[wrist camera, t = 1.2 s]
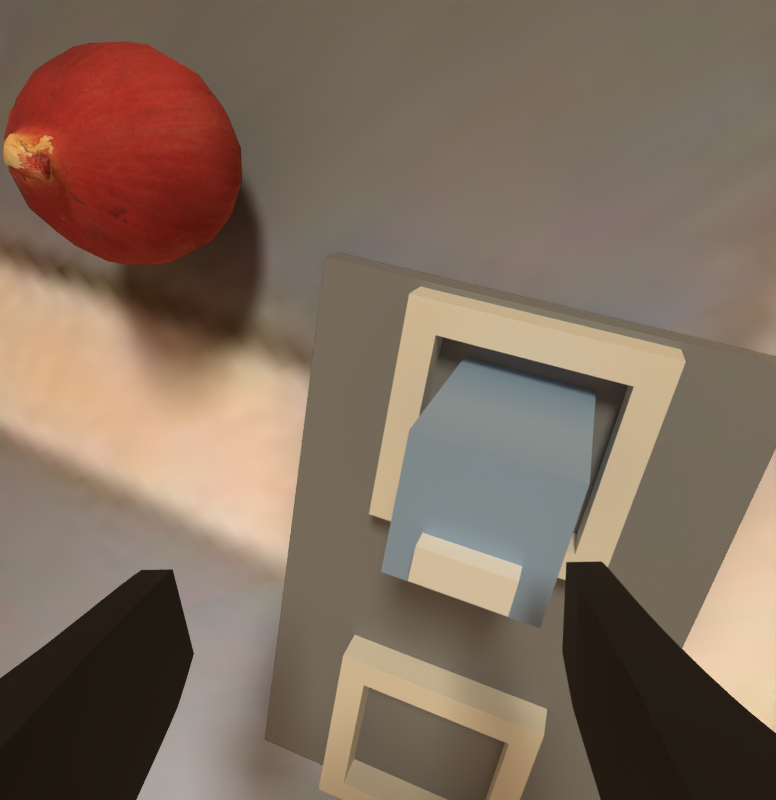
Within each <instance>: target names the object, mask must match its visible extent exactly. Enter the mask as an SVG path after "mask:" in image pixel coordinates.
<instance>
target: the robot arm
mask: <svg viewBox="0 0 776 800" xmlns="http://www.w3.org/2000/svg"><path fill="white" fill-rule="evenodd" d="M562 653H563V659H564V664H565V670H566V675H567V681H568V686H569V691H570V696H571V701H572V706H573V710H574V714H575V717H576V720H577V724H578V727H579V730H580V734H581V737H582V740H583V744H584V747H585V750H586V753H587V757H588V760H589V763H590V767H591V770H592V773H593V776H594V780H595V783H596V786H597V789H598V793H599V796H600V799H601V800H776V733H775V732H774V731H772V730H771V729H770V728H769V727H767V726H766V725H765V724H764V723H762V722H761V721H760V720H759V719H758V718H756V717H755V716H754V715H753V714H751V713H750V712H749V711H748V710H747V709H746V708H744V707H743V706H742V705H741V704H740V703H739V702H738V701H737V700H735V699H734V698H733V697H732V696H731V695H730V694H729V693H728V692H727V691H725V690H724V689H723V688H722V687H721V686H720V685H719V684H718V683H717V682H716V681H715V680H714V679H713V678H711V677H710V676H709V675H708V674H707V673H706V672H705V671H704V670H703V669H702V668H701V667H700V666H699V665H698V664H697V663H696V662H695V661H694V660H693V659H692V658H691V657H690V656H689V655H688V654H687V653H686V652H685V651H684V650H683V649H682V648H681V647H680V646H679V645H678V644H677V643H676V642H675V641H674V640H673V639H672V638H671V637H670V636H669V635H668V634H667V633H666V632H665V631H664V630H663V629H662V628H661V627H660V626H659V624H658V623H657V622H656V621H655V620H654V619H653V618H652V617H651V616H650V615H649V614H648V613H647V611H646V610H645V609H644V608H643V607H642V606H641V605H640V604H639V603H638V601H637V600H636V599H635V598H634V597H633V596H632V595H631V594H630V592H629V591H628V590H627V589H626V588H625V587H624V586H623V584H622V583H621V582H620V581H619V580H618V579H617V577H616V576H615V575H614V574H613V573H612V572H611V570H610V569H609V568H608V567H607V566H606V565H605V564H604V563H603V562H602V561H598V562H566V578H565V600H564V622H563V644H562ZM193 655H194V653H193V649H192V645H191V641H190V637H189V633H188V629H187V625H186V621H185V617H184V613H183V609H182V605H181V601H180V597H179V593H178V589H177V585H176V581H175V577H174V573H173V570H141V571H140V572H138V573H137V574H135V575H134V576H132V577H131V578H130V579H128V580H127V581H126V582H124V583H123V584H122V585H121V586H119V587H118V588H117V589H115V590H114V591H113V592H112V593H110V594H109V595H108V596H107V597H105V598H104V599H103V600H102V601H100V602H99V603H98V604H97V605H95V606H94V607H93V608H92V609H90V610H89V611H88V612H87V613H85V614H84V615H83V616H82V617H80V618H79V619H78V620H76V621H75V622H74V623H73V624H71V625H70V626H69V627H68V628H66V629H65V630H64V631H63V632H61V633H60V634H59V635H57V636H56V637H55V638H54V639H52V640H51V641H50V642H49V643H47V644H46V645H45V646H43V647H42V648H41V649H39V650H38V651H37V652H35V653H34V654H33V655H31V656H30V657H29V658H27V659H26V660H24V661H23V662H22V663H20V664H19V665H18V666H16V667H15V668H14V669H12V670H11V671H10V672H8V673H7V674H5V675H4V676H3V677H1V678H0V800H136V799H137V797H138V795H139V792H140V790H141V788H142V786H143V784H144V781H145V779H146V777H147V775H148V773H149V770H150V768H151V766H152V764H153V762H154V759H155V757H156V755H157V753H158V751H159V748H160V746H161V744H162V741H163V739H164V737H165V735H166V732H167V730H168V728H169V726H170V723H171V721H172V719H173V716H174V714H175V712H176V709H177V707H178V704H179V701H180V698H181V695H182V692H183V689H184V685H185V682H186V679H187V675H188V672H189V668H190V665H191V662H192V658H193Z"/></svg>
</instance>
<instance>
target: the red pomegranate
mask: <svg viewBox="0 0 776 800" xmlns="http://www.w3.org/2000/svg"><path fill="white" fill-rule="evenodd" d="M4 160H5V163H6V164H7V165H8V166H9V171H10V173H11V175H12V177H13V179H14V181H15V183H16V184H17V186H18V188H19V190H20V192H21V194H22V196H23V197H24V199H25V201H26V203H27V205H28V206H29V208H30V209H31V210H32V211H33V212H35V213H36V214H37V215H38V216H39V217H40V218H42V219H43V220H44V221H45V222H46V223H47V224H49V225H50V226H51V227H52V228H53V229H55V230H56V231H57V232H58V233H59V234H61V235H62V236H63V237H65V238H66V239H67V240H69V241H70V242H71V243H73V244H74V245H75V246H77V247H79V248H82V249H84V250H86V251H88V252H90V253H92V254H94V255H96V256H98V257H100V258H102V259H104V260H106V261H109V262H115V263H122V264H142V265H156V264H163V263H169V262H172V261H174V260H176V259H178V258H180V257H182V256H184V255H187V254H189V253H191V252H193V251H195V250H197V249H199V248H201V247H203V246H205V245H207V244H209V243H210V242H211V241H212V240H213V238H214V237H215V236H216V235H217V233H218V232H219V231H220V230H221V228H222V227H223V226H224V225H225V223H226V222H227V221H228V220H229V218H230V216H231V213H232V211H233V208H234V205H235V202H236V199H237V196H238V192H239V189H240V186H241V183H242V170H241V148H240V145H239V143H238V140H237V138H236V135H235V132H234V130H233V127H232V125H231V122H230V120H229V117H228V115H227V114H226V112H225V110H224V108H223V106H222V105H221V103H220V102H219V101H218V99H217V98H216V97H215V95H214V94H213V93H212V92H211V90H210V89H209V88H208V86H207V85H206V84H205V82H204V81H203V80H202V78H201V77H200V76H199V75H198V74H197V73H195V72H193V71H192V70H190V69H188V68H187V67H185V66H184V65H182V64H180V63H178V62H177V61H175V60H173V59H172V58H170V57H168V56H166V55H165V54H163V53H161V52H159V51H158V50H156V49H154V48H153V47H151V46H149V45H147V44H140V43H132V42H107V43H88V44H83V45H79V46H74V47H72V48H70V49H68V50H67V51H65V52H63V53H62V54H60V55H58V56H56V57H55V58H53V59H51V60H50V61H48V62H46V63H45V64H43V65H42V66H41V67H39V68H38V69H37V70H35V71H34V72H33V73H32V75H31V76H30V78H29V79H28V81H27V82H26V84H25V86H24V87H23V89H22V91H21V92H20V94H19V95H18V97H17V99H16V102H15V105H14V107H13V108H12V110H11V111H10V114H9V118H8V123H7V127H6V132H5V136H4Z"/></svg>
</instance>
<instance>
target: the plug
mask: <svg viewBox="0 0 776 800" xmlns="http://www.w3.org/2000/svg"><path fill="white" fill-rule="evenodd" d="M595 399H596V391H593V390H589V389H585V388H581V387H577V386H574V385H570V384H566V383H562V382H559V381H555V380H551V379H547V378H543V377H540V376H536V375H532V374H528V373H525V372H521V371H517V370H513V369H509V368H506V367H502V366H498V365H494V364H491V363H487V362H483V361H479V360H475V359H472V358H468V357H464V359H463V360H462V361H461V363H460V364H459V365H458V366H457V368H456V369H455V370H454V372H453V373H452V374H451V376H450V377H449V378H448V380H447V381H446V382H445V384H444V385H443V386H442V387H441V389H440V390H439V391H438V393H437V394H436V395H435V397H434V398H433V399H432V401H431V402H430V403H429V405H428V406H427V407H426V408H425V410H424V411H423V412H422V414H421V415H420V416H419V418H418V419H417V420H416V422H415V423H414V424H413V426H412V427H411V428H410V429H409V434H408V439H407V444H406V449H405V454H404V459H403V464H402V469H401V474H400V479H399V484H398V489H397V494H396V499H395V504H394V509H393V514H392V519H391V524H390V529H389V534H388V539H387V544H386V549H385V554H384V559H383V564H382V569H381V572H383V573H386V574H389V575H391V576H394V577H397V578H400V579H403V580H405V581H408V582H411V583H414V584H417V585H419V586H422V587H425V588H428V589H431V590H433V591H436V592H439V593H442V594H445V595H447V596H450V597H453V598H456V599H458V600H461V601H464V602H467V603H470V604H472V605H475V606H478V607H481V608H484V609H486V610H489V611H492V612H495V613H498V614H500V615H503V616H506V617H509V618H512V619H514V620H517V621H520V622H523V623H526V624H528V625H531V626H534V627H537V628H539V629H540V627H541V625H542V622H543V619H544V616H545V613H546V610H547V607H548V604H549V601H550V598H551V595H552V592H553V589H554V587H555V584H556V581H557V578H558V575H559V572H560V569H561V566H562V563H563V560H564V557H565V554H566V551H567V549H568V546H569V543H570V540H571V537H572V534H573V531H574V528H575V525H576V522H577V519H578V516H579V513H580V511H581V508H582V505H583V502H584V499H585V496H586V493H587V490H588V487H589V484H590V473H591V458H592V443H593V428H594V414H595Z"/></svg>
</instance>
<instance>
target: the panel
mask: <svg viewBox="0 0 776 800" xmlns="http://www.w3.org/2000/svg"><path fill="white" fill-rule="evenodd" d="M464 357H468V358H472V359H475V360H479V361H483V362H487V363H491V364H494V365H498V366H502V367H506V368H509V369H513V370H517V371H521V372H525V373H528V374H532V375H536V376H540V377H543V378H547V379H551V380H555V381H559V382H562V383H566V384H570V385H574V386H577V387H581V388H585V389H589V390H593V391H596V399H595V414H594V428H593V443H592V458H591V473H590V484H589V487H588V490H587V493H586V496H585V499H584V502H583V505H582V508H581V511H580V513H579V516H578V519H577V522H576V525H575V528H574V531H573V534H572V537H571V540H570V543H569V546H568V549H567V551H566V554H565V557H564V560H563V563H562V566H561V569H560V572H559V575H558V578H557V581H556V584H555V587H554V589H553V592H552V595H551V598H550V601H549V604H548V607H547V610H546V613H545V616H544V619H543V622H542V625H541V627H540V629H539V628H537V627H534V626H531V625H528V624H526V623H523V622H520V621H517V620H514V619H512V618H509V617H506V616H503V615H500V614H498V613H495V612H492V611H489V610H486V609H484V608H481V607H478V606H475V605H472V604H470V603H467V602H464V601H461V600H458V599H456V598H453V597H450V596H447V595H445V594H442V593H439V592H436V591H433V590H431V589H428V588H425V587H422V586H419V585H417V584H414V583H411V582H408V581H405V580H403V579H400V578H397V577H394V576H391V575H389V574H386V573H383V572H381V569H382V564H383V559H384V554H385V549H386V544H387V539H388V534H389V529H390V524H391V519H392V514H393V509H394V504H395V499H396V494H397V489H398V484H399V479H400V474H401V469H402V464H403V459H404V454H405V449H406V444H407V439H408V434H409V429H410V428H411V427H412V426H413V424H414V423H415V422H416V420H417V419H418V418H419V416H420V415H421V414H422V412H423V411H424V410H425V408H426V407H427V406H428V405H429V403H430V402H431V401H432V399H433V398H434V397H435V395H436V394H437V393H438V391H439V390H440V389H441V387H442V386H443V385H444V384H445V382H446V381H447V380H448V378H449V377H450V376H451V374H452V373H453V372H454V370H455V369H456V368H457V366H458V365H459V364H460V363H461V361H462V360H463V359H464ZM775 449H776V357H775V356H771V355H767V354H763V353H758V352H754V351H750V350H746V349H741V348H737V347H733V346H729V345H724V344H720V343H716V342H712V341H708V340H703V339H699V338H695V337H691V336H686V335H682V334H678V333H674V332H670V331H665V330H661V329H657V328H653V327H648V326H644V325H640V324H636V323H632V322H627V321H623V320H619V319H615V318H610V317H606V316H602V315H598V314H593V313H589V312H585V311H581V310H577V309H572V308H568V307H564V306H560V305H555V304H551V303H547V302H543V301H539V300H534V299H530V298H526V297H522V296H517V295H513V294H509V293H505V292H501V291H496V290H492V289H488V288H484V287H479V286H475V285H471V284H467V283H462V282H458V281H454V280H450V279H446V278H441V277H437V276H433V275H429V274H424V273H420V272H416V271H412V270H408V269H403V268H399V267H395V266H391V265H386V264H382V263H378V262H374V261H370V260H365V259H361V258H357V257H353V256H348V255H344V254H340V253H336V254H333V255H330V256H327V257H325V263H324V271H323V279H322V287H321V295H320V303H319V311H318V319H317V327H316V335H315V343H314V351H313V359H312V367H311V375H310V383H309V391H308V399H307V407H306V415H305V423H304V431H303V439H302V447H301V455H300V463H299V471H298V479H297V487H296V495H295V503H294V511H293V519H292V527H291V535H290V543H289V551H288V559H287V567H286V575H285V583H284V591H283V599H282V607H281V615H280V623H279V631H278V639H277V647H276V655H275V663H274V671H273V679H272V687H271V695H270V703H269V711H268V719H267V727H266V735H265V740H267V741H269V742H272V743H274V744H276V745H278V746H281V747H283V748H285V749H287V750H290V751H292V752H294V753H296V754H299V755H301V756H303V757H305V758H308V759H310V760H312V761H314V762H317V763H319V764H321V765H323V768H322V774H321V779H320V785H319V790H322V791H324V792H326V793H328V794H330V795H333V796H335V797H337V798H339V799H341V800H601V799H600V796H599V793H598V789H597V786H596V783H595V780H594V776H593V773H592V770H591V767H590V763H589V760H588V757H587V753H586V750H585V747H584V744H583V740H582V737H581V734H580V730H579V727H578V724H577V720H576V717H575V714H574V710H573V706H572V701H571V696H570V691H569V686H568V681H567V675H566V670H565V664H564V659H563V653H562V644H563V622H564V600H565V578H566V562H598V561H602V562H603V563H604V564H605V565H606V566H607V567H608V568H609V569H610V570H611V572H612V573H613V574H614V575H615V576H616V577H617V579H618V580H619V581H620V582H621V583H622V584H623V586H624V587H625V588H626V589H627V590H628V591H629V592H630V594H631V595H632V596H633V597H634V598H635V599H636V600H637V601H638V603H639V604H640V605H641V606H642V607H643V608H644V609H645V610H646V611H647V613H648V614H649V615H650V616H651V617H652V618H653V619H654V620H655V621H656V622H657V623H658V624H659V626H660V627H661V628H662V629H663V630H664V631H665V632H666V633H667V634H668V635H669V636H670V637H671V638H672V639H673V640H674V641H675V642H676V643H677V644H678V645H679V646H680V647H681V648H682V647H683V645H684V643H685V641H686V639H687V637H688V635H689V632H690V630H691V628H692V626H693V624H694V622H695V620H696V618H697V615H698V613H699V611H700V609H701V607H702V605H703V603H704V600H705V598H706V596H707V594H708V592H709V590H710V588H711V585H712V583H713V581H714V579H715V577H716V575H717V573H718V570H719V568H720V566H721V564H722V562H723V560H724V558H725V555H726V553H727V551H728V549H729V547H730V545H731V543H732V541H733V538H734V536H735V534H736V532H737V530H738V528H739V526H740V523H741V521H742V519H743V517H744V515H745V513H746V511H747V508H748V506H749V504H750V502H751V500H752V498H753V496H754V493H755V491H756V489H757V487H758V485H759V483H760V481H761V479H762V476H763V474H764V472H765V470H766V468H767V466H768V464H769V461H770V459H771V457H772V455H773V453H774V451H775Z"/></svg>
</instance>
